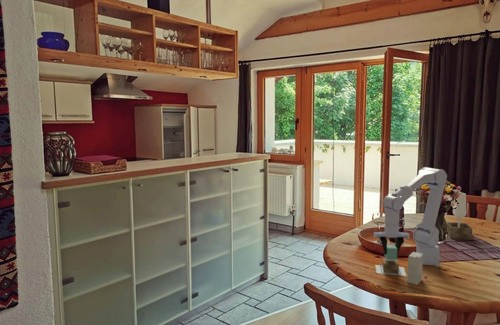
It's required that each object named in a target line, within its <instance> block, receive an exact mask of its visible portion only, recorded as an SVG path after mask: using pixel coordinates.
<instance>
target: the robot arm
mask: <svg viewBox="0 0 500 325" xmlns="http://www.w3.org/2000/svg"><path fill="white" fill-rule="evenodd" d="M417 173H418V174H417V175H416V176H415V177H414V178H413V179H412V180H411V181H410V182H409V183H408V184H402V185H400V186H399V188H398V189H396V190H395V191H394V192H392V194H388V195H386V196H384V198H383V200H382V202H381V204H382V207H383V211H384V231H377V232H376V231H374V232H373V237H374V239H377V238H378V239H379V240H380V243H381V246H382V249H383V254H387V245H388V240H387V238H388V239H389V238H390V239H394V240H395V244H394V245H395V246H396V247H397V256H398V255H399V252H400V249H401V247H402V245H403V244H404V243H405V239H407V240H408V239H410V233H409V232H403V231H402V232H401V231H400V210H402V208H403V207H404V204H405V202H406V201H408V199H410V198H411V197H413V195H414V191H416V190H417V189H418V188H420V187H422V186H423V185H424V184H426V185H427V186H428V188H429V193H428V197H427V201H426V206H425V209H424V214H423V218H422V220H421V221H422V222H420V223H417V225H415V226H416V227H415V229H414V230H413V233H412V238H413V240H414V241H415V244H416V250H415V251H416V252H417V253H422V254H423V265H425V266H435V267H436V268H440V255H441V254H440V253H441V252H440V246H439V245H438V244H439V240H440V238H439V236H440V230H439V229H438V227H436V223H437V218H438V214H439V209H440V206H441V202H442V200H443V199H442V198H443V194H444V190H445V188H446V183H447V178H448V174H447V172H446V171H445V170H444V169H443V168H441V169H439V168H433V167H428V166H424V167H422V168H421V169H420V170H418V172H417Z"/></svg>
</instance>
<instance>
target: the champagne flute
mask: <svg viewBox="0 0 500 325" xmlns="http://www.w3.org/2000/svg"><path fill="white" fill-rule="evenodd" d="M460 193H461V195H460V196H459V197H458V198H457V199H456V200H457V202H458V203H459V204H458V206H457V208H456V209H453V208H452V214H453V216H454V217H455V218H456V219H457V223H458V228H460V223H461V220H462V219H464V217H467V212H468V211H467V194H466V193H464V192H460Z"/></svg>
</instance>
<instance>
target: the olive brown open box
mask: <svg viewBox="0 0 500 325" xmlns="http://www.w3.org/2000/svg"><path fill="white" fill-rule="evenodd" d="M446 223H447V226H448V235H447V236H448V237H449V239H458V240H459V239H460V240H471V241H472V239H473V227H471V226H470V225H469V223H467V222H460V228H458V222H456V221H455V222H451V221H450V222H449V221H446V222H445V224H446Z"/></svg>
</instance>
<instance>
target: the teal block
mask: <svg viewBox="0 0 500 325" xmlns="http://www.w3.org/2000/svg"><path fill="white" fill-rule="evenodd" d="M383 254H384V253H383ZM384 258H386V259H390V260H398V255H397V247H396V246H395V244H387V254H384Z"/></svg>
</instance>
